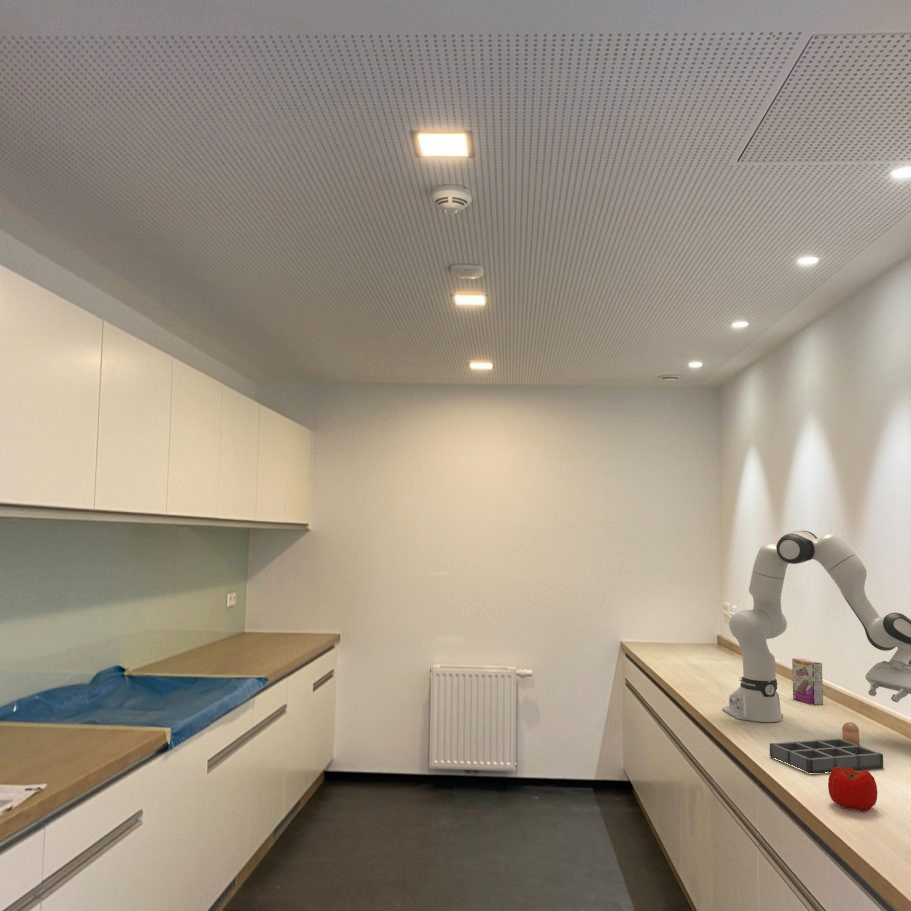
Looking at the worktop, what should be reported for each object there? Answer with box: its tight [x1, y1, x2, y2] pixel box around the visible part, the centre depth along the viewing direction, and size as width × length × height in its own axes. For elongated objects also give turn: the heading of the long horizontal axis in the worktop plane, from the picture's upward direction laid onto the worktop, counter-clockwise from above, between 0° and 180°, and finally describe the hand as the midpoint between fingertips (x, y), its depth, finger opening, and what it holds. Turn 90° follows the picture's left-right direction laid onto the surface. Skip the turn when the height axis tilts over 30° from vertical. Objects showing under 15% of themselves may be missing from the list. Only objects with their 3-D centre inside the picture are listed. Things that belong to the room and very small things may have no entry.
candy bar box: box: [791, 657, 824, 706], centre depth 315 cm, size 11×5×16 cm, turn 22°
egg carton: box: [769, 738, 884, 774], centre depth 233 cm, size 17×25×4 cm
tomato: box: [827, 767, 879, 812], centre depth 196 cm, size 11×12×9 cm
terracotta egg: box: [841, 721, 861, 746], centre depth 248 cm, size 5×5×8 cm
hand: (882, 697), depth 253 cm, fingers open, 8 cm apart
